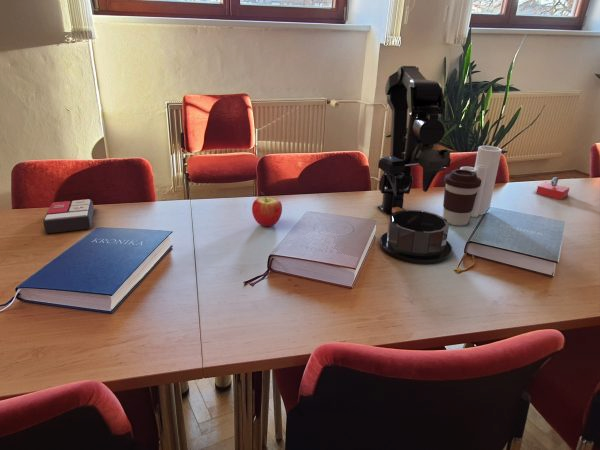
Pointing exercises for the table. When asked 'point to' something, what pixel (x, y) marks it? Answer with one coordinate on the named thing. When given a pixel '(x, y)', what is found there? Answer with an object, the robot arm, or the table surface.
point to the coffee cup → (460, 196)
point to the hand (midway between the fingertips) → (410, 193)
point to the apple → (266, 211)
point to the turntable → (415, 259)
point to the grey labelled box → (69, 216)
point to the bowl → (417, 232)
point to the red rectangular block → (553, 189)
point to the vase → (485, 177)
